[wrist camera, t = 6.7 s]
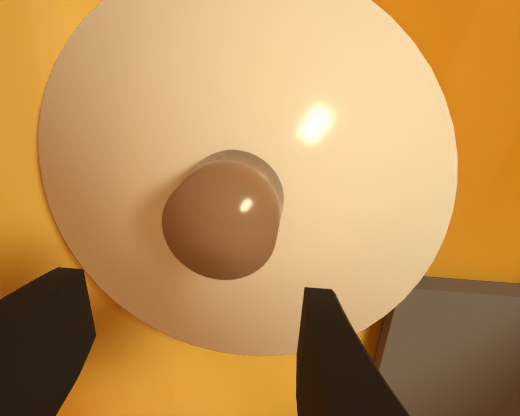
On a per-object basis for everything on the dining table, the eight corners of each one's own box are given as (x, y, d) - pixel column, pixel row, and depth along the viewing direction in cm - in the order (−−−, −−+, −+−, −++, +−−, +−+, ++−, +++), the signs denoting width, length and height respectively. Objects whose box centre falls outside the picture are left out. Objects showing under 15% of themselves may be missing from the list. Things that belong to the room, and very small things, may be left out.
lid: (544, 43, 13) (623, 47, 10) (354, 384, 20) (361, 455, 17) (61, -110, 13) (-29, -158, 10) (42, 284, 21) (-13, 335, 17)
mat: (729, 300, 18) (752, 315, 17) (590, 488, 25) (601, 506, 24) (395, 274, 19) (400, 287, 18) (349, 464, 25) (351, 480, 25)
